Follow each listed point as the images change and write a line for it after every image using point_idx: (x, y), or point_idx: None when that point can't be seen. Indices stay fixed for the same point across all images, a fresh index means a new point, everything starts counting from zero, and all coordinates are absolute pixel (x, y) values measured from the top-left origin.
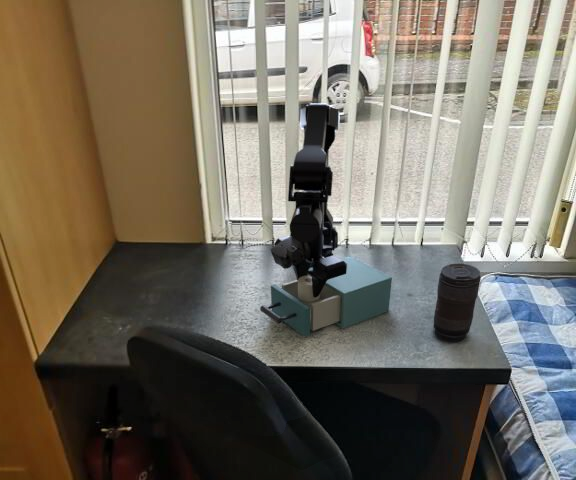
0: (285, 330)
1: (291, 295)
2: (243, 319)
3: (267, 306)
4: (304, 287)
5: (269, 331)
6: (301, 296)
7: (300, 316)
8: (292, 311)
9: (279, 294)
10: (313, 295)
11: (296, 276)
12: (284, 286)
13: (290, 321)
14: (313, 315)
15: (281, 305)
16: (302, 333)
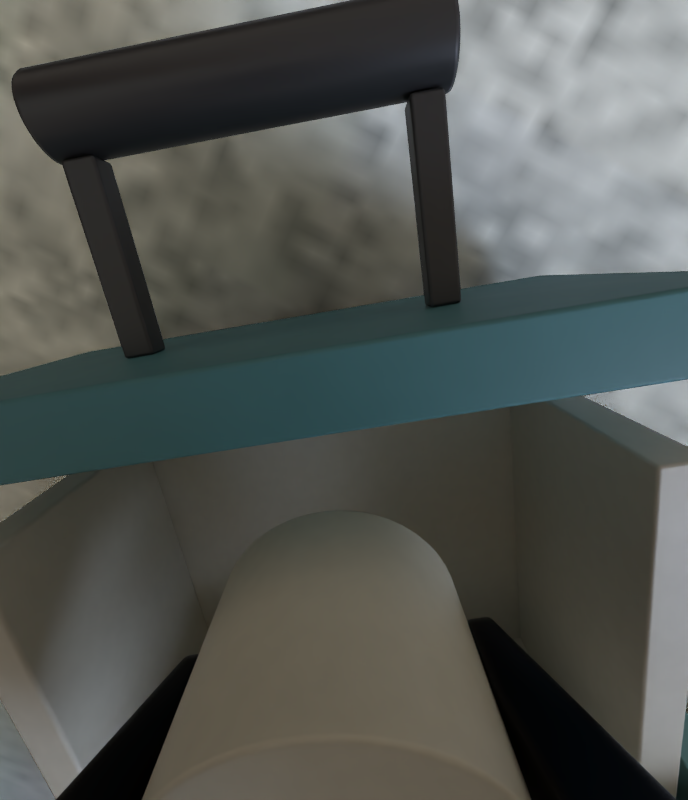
0: (285, 281)
1: (274, 433)
2: (608, 15)
3: (432, 106)
4: (206, 708)
5: (321, 157)
6: (286, 547)
7: (42, 373)
8: (193, 346)
9: (486, 310)
10: (187, 671)
11: (629, 784)
12: (645, 472)
13: (265, 325)
14: (44, 495)
15: (411, 309)
16: (116, 348)
